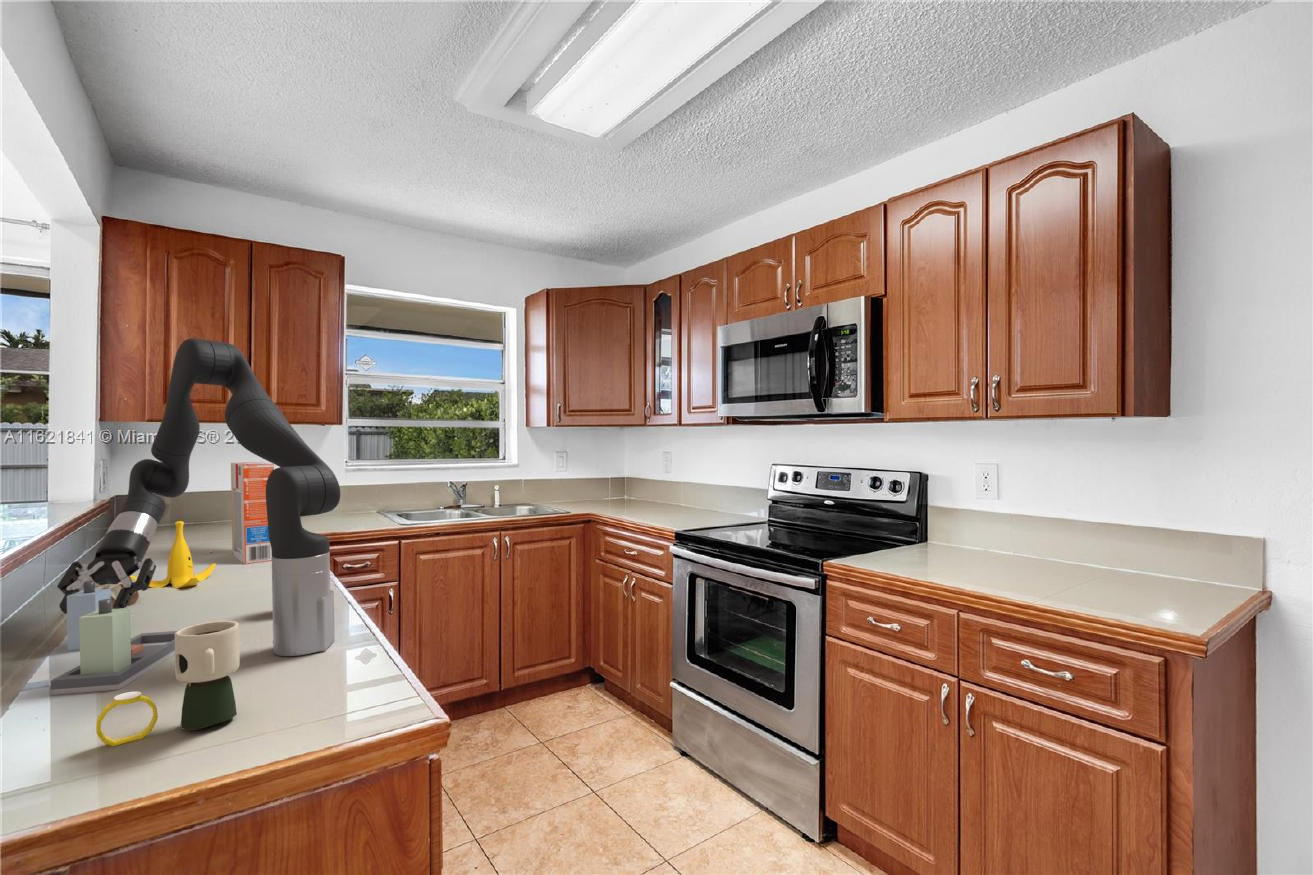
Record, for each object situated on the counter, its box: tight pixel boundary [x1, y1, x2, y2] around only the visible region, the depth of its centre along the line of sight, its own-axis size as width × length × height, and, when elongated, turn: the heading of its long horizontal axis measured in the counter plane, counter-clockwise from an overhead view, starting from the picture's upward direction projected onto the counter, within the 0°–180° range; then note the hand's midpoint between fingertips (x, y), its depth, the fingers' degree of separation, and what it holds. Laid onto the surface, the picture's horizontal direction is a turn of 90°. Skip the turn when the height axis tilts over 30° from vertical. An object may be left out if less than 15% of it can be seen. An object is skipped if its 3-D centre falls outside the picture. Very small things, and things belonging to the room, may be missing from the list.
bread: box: [95, 582, 140, 609], centre depth 147 cm, size 11×11×5 cm
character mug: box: [174, 620, 241, 731], centre depth 86 cm, size 11×7×13 cm, turn 37°
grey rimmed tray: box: [50, 630, 178, 696], centre depth 108 cm, size 9×23×3 cm, turn 11°
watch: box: [95, 691, 159, 747], centre depth 81 cm, size 6×3×6 cm, turn 133°
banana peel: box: [130, 520, 217, 589], centre depth 166 cm, size 17×19×17 cm
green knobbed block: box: [79, 599, 132, 675], centre depth 102 cm, size 4×4×12 cm
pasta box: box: [230, 461, 275, 565], centre depth 203 cm, size 23×8×30 cm, turn 41°
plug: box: [66, 580, 111, 651], centre depth 119 cm, size 4×4×12 cm
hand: (91, 610), depth 119 cm, fingers open, 8 cm apart
